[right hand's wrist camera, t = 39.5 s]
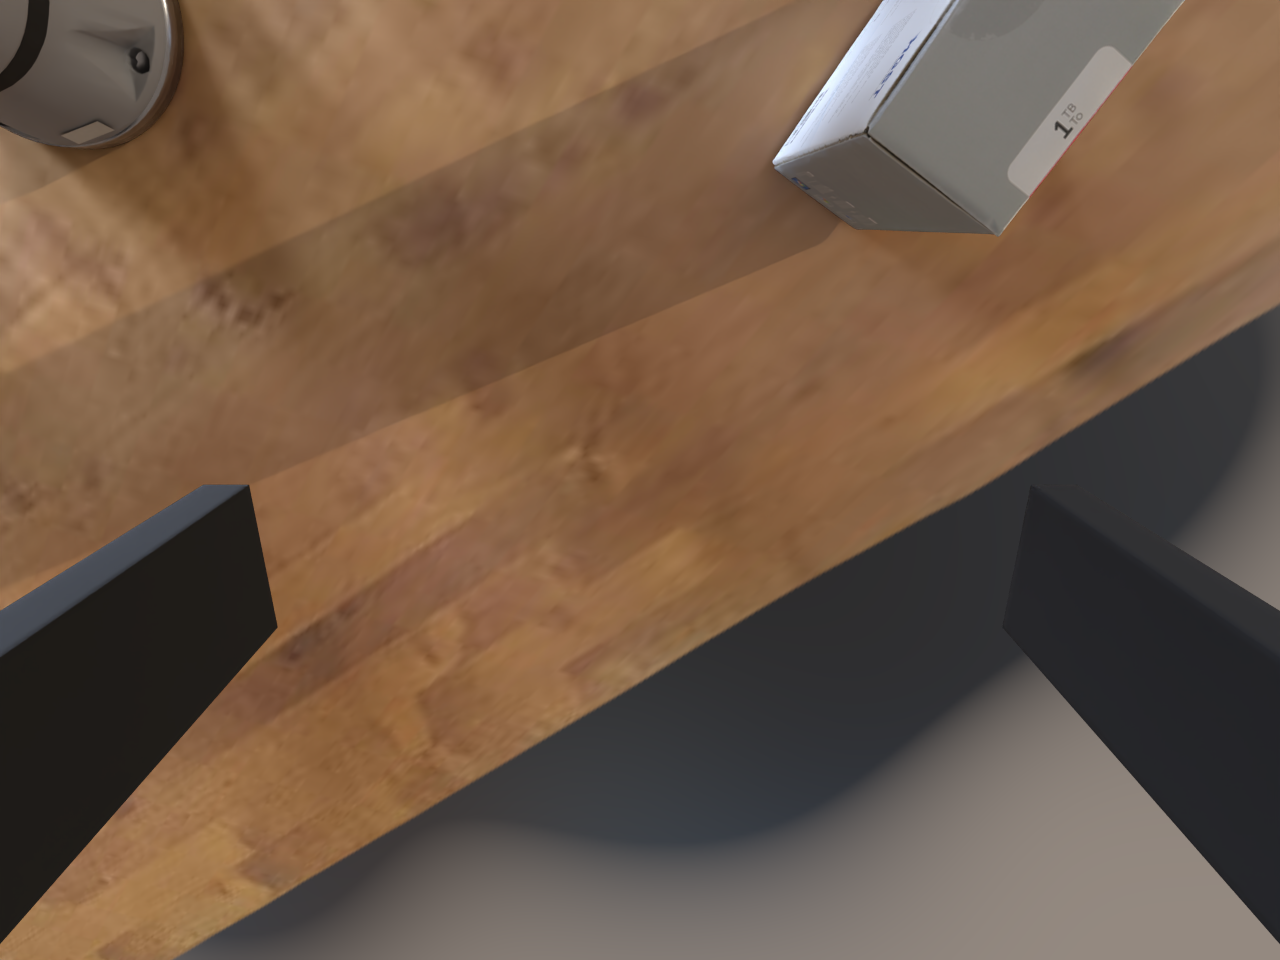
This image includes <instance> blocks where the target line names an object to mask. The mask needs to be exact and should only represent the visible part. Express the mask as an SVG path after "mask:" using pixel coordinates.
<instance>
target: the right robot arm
mask: <svg viewBox="0 0 1280 960" xmlns="http://www.w3.org/2000/svg"><path fill="white" fill-rule="evenodd" d="M183 53H184V35H183V24H182V18H181V11H180V7H179V3H178V0H0V126H1V127H3V128H5V129H7V130H8V131H10V132H12V133H14V134H17V135H19V136H21V137H24V138H26V139H29V140H32V141H35V142H39V143H43V144H47V145H53V146H61V147H69V148H78V149H101V148H108V147H113V146H116V145H120V144H123V143H125V142H128V141H130V140H132V139H134V138H136V137H137V136H139V135H141V134H142V133H144V132H145V131H146V130H147V129H149V128H150V127H151V126H152V125H153V124H154V123H155V122H156V121H157V120H158V119H159V118H160V116H161V115H162V114H163V112H164V111H165V110H166V108H167V106H168V105H169V103H170V101H171V100H172V97H173V95H174V93H175V90H176V88H177V85H178V81H179V78H180V74H181V69H182V63H183ZM276 629H277V622H276V617H275V612H274V607H273V602H272V597H271V592H270V587H269V582H268V577H267V572H266V567H265V562H264V557H263V552H262V547H261V542H260V537H259V532H258V527H257V522H256V517H255V512H254V507H253V502H252V497H251V492H250V487H249V485H202V486H201V487H199V488H197V489H196V490H194V491H193V492H191V493H189V494H188V495H186V496H185V497H183V498H181V499H180V500H178V501H177V502H175V503H173V504H172V505H170V506H168V507H167V508H165V509H164V510H162V511H160V512H159V513H157V514H156V515H154V516H152V517H151V518H149V519H148V520H146V521H144V522H143V523H141V524H139V525H138V526H136V527H135V528H133V529H131V530H130V531H128V532H127V533H125V534H123V535H122V536H120V537H119V538H117V539H115V540H114V541H112V542H110V543H109V544H107V545H106V546H104V547H102V548H101V549H99V550H98V551H96V552H94V553H93V554H91V555H90V556H88V557H86V558H85V559H83V560H81V561H80V562H78V563H77V564H75V565H73V566H72V567H70V568H69V569H67V570H65V571H64V572H62V573H61V574H59V575H57V576H56V577H54V578H52V579H51V580H49V581H48V582H46V583H44V584H43V585H41V586H40V587H38V588H36V589H35V590H33V591H32V592H30V593H28V594H27V595H25V596H24V597H22V598H20V599H19V600H17V601H15V602H14V603H12V604H11V605H9V606H7V607H6V608H4V609H3V610H1V611H0V944H1V942H2V941H3V940H4V939H5V938H6V937H7V936H8V934H9V933H10V932H11V931H12V930H13V929H14V928H15V926H16V925H17V924H18V923H19V922H20V921H21V920H22V918H23V917H24V916H25V915H26V914H27V913H28V912H29V910H30V909H31V908H32V907H33V906H34V905H35V904H36V902H37V901H38V900H39V899H40V898H41V897H42V896H43V894H44V893H45V892H46V891H47V890H48V889H49V888H50V886H51V885H52V884H53V883H54V882H55V881H56V880H57V878H58V877H59V876H60V875H61V874H62V873H63V872H64V870H65V869H66V868H67V867H68V866H69V865H70V864H71V863H72V861H73V860H74V859H75V858H76V857H77V856H78V855H79V853H80V852H81V851H82V850H83V849H84V848H85V847H86V845H87V844H88V843H89V842H90V841H91V840H92V839H93V837H94V836H95V835H96V834H97V833H98V832H99V831H100V829H101V828H102V827H103V826H104V825H105V824H106V823H107V821H108V820H109V819H110V818H111V817H112V816H113V815H114V813H115V812H116V811H117V810H118V809H119V808H120V807H121V805H122V804H123V803H124V802H125V801H126V800H127V799H128V797H129V796H130V795H131V794H132V793H133V792H134V791H135V789H136V788H137V787H138V786H139V785H140V784H141V783H142V781H143V780H144V779H145V778H146V777H147V776H148V775H149V773H150V772H151V771H152V770H153V769H154V768H155V767H156V766H157V764H158V763H159V762H160V761H161V760H162V759H163V758H164V756H165V755H166V754H167V753H168V752H169V751H170V750H171V748H172V747H173V746H174V745H175V744H176V743H177V742H178V740H179V739H180V738H181V737H182V736H183V735H184V734H185V732H186V731H187V730H188V729H189V728H190V727H191V726H192V724H193V723H194V722H195V721H196V720H197V719H198V718H199V716H200V715H201V714H202V713H203V712H204V711H205V710H206V708H207V707H208V706H209V705H210V704H211V703H212V702H213V700H214V699H215V698H216V697H217V696H218V695H219V694H220V692H221V691H222V690H223V689H224V688H225V687H226V686H227V684H228V683H229V682H230V681H231V680H232V679H233V678H234V676H235V675H236V674H237V673H238V672H239V671H240V670H241V668H242V667H243V666H244V665H245V664H246V663H247V662H248V661H249V659H250V658H251V657H252V656H253V655H254V654H255V653H256V651H257V650H258V649H259V648H260V647H261V646H262V645H263V643H264V642H265V641H266V640H267V639H268V638H269V637H270V635H271V634H272V633H273V632H274V631H275V630H276ZM1003 629H1004V630H1005V631H1006V632H1007V633H1008V634H1009V635H1010V637H1011V638H1012V639H1013V640H1014V641H1015V642H1016V643H1017V645H1018V646H1019V647H1020V648H1021V649H1022V650H1023V651H1024V653H1025V654H1026V655H1027V656H1028V657H1029V658H1030V659H1031V660H1032V662H1033V663H1034V664H1035V665H1036V666H1037V667H1038V668H1039V670H1040V671H1041V672H1042V673H1043V674H1044V675H1045V676H1046V678H1047V679H1048V680H1049V681H1050V682H1051V683H1052V684H1053V686H1054V687H1055V688H1056V689H1057V690H1058V691H1059V692H1060V694H1061V695H1062V696H1063V697H1064V698H1065V699H1066V700H1067V702H1068V703H1069V704H1070V705H1071V706H1072V707H1073V708H1074V710H1075V711H1076V712H1077V713H1078V714H1079V715H1080V716H1081V718H1082V719H1083V720H1084V721H1085V722H1086V723H1087V724H1088V726H1089V727H1090V728H1091V729H1092V730H1093V731H1094V732H1095V733H1096V735H1097V736H1098V737H1099V738H1100V739H1101V740H1102V742H1103V743H1104V744H1105V745H1106V746H1107V747H1108V748H1109V750H1110V751H1111V752H1112V753H1113V754H1114V755H1115V756H1116V758H1117V759H1118V760H1119V761H1120V762H1121V763H1122V764H1123V766H1124V767H1125V768H1126V769H1127V770H1128V771H1129V772H1130V773H1131V775H1132V776H1133V777H1134V778H1135V779H1136V780H1137V781H1138V783H1139V784H1140V785H1141V786H1142V787H1143V788H1144V789H1145V791H1146V792H1147V793H1148V794H1149V795H1150V796H1151V797H1152V799H1153V800H1154V801H1155V802H1156V803H1157V804H1158V805H1159V807H1160V808H1161V809H1162V810H1163V811H1164V812H1165V813H1166V815H1167V816H1168V817H1169V818H1170V819H1171V820H1172V821H1173V823H1174V824H1175V825H1176V826H1177V827H1178V828H1179V829H1180V831H1181V832H1182V833H1183V834H1184V835H1185V836H1186V837H1187V839H1188V840H1189V841H1190V842H1191V843H1192V844H1193V845H1194V847H1195V848H1196V849H1197V850H1198V851H1199V852H1200V853H1201V854H1202V856H1203V857H1204V858H1205V859H1206V860H1207V861H1208V863H1209V864H1210V865H1211V866H1212V867H1213V868H1214V869H1215V870H1216V872H1217V873H1218V874H1219V875H1220V876H1221V877H1222V878H1223V880H1224V881H1225V882H1226V883H1227V884H1228V885H1229V886H1230V888H1231V889H1232V890H1233V891H1234V892H1235V893H1236V894H1237V896H1238V897H1239V898H1240V899H1241V900H1242V901H1243V902H1244V904H1245V905H1246V906H1247V907H1248V908H1249V909H1250V910H1251V912H1252V913H1253V914H1254V915H1255V916H1256V917H1257V918H1258V920H1259V921H1260V922H1261V923H1262V924H1263V925H1264V926H1265V928H1266V929H1267V930H1268V931H1269V932H1270V933H1271V934H1272V936H1273V937H1274V938H1275V939H1276V940H1277V941H1278V942H1279V943H1280V611H1279V610H1277V609H1276V608H1274V607H1273V606H1271V605H1269V604H1268V603H1266V602H1265V601H1263V600H1261V599H1260V598H1258V597H1256V596H1255V595H1253V594H1252V593H1250V592H1248V591H1247V590H1245V589H1244V588H1242V587H1240V586H1239V585H1237V584H1236V583H1234V582H1232V581H1231V580H1229V579H1228V578H1226V577H1224V576H1223V575H1221V574H1219V573H1218V572H1216V571H1215V570H1213V569H1211V568H1210V567H1208V566H1207V565H1205V564H1203V563H1202V562H1200V561H1199V560H1197V559H1195V558H1194V557H1192V556H1190V555H1189V554H1187V553H1186V552H1184V551H1182V550H1181V549H1179V548H1178V547H1176V546H1174V545H1173V544H1171V543H1170V542H1168V541H1166V540H1165V539H1163V538H1161V537H1160V536H1158V535H1157V534H1155V533H1153V532H1152V531H1150V530H1149V529H1147V528H1145V527H1144V526H1142V525H1141V524H1139V523H1137V522H1136V521H1134V520H1132V519H1131V518H1129V517H1128V516H1126V515H1124V514H1123V513H1121V512H1120V511H1118V510H1116V509H1115V508H1113V507H1111V506H1110V505H1108V504H1107V503H1105V502H1103V501H1102V500H1100V499H1099V498H1097V497H1095V496H1094V495H1092V494H1091V493H1089V492H1087V491H1086V490H1084V489H1083V488H1081V487H1079V486H1078V485H1031V487H1030V492H1029V497H1028V502H1027V507H1026V512H1025V517H1024V523H1023V527H1022V532H1021V537H1020V542H1019V547H1018V552H1017V557H1016V562H1015V567H1014V572H1013V577H1012V582H1011V587H1010V592H1009V597H1008V602H1007V607H1006V612H1005V617H1004V622H1003Z"/></svg>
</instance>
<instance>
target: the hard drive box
mask: <svg viewBox="0 0 1280 960" xmlns="http://www.w3.org/2000/svg"><path fill="white" fill-rule="evenodd" d="M1184 1H1185V0H883V1H882V3H881V4H880V6H879V7H878V9H877V10H876V12H875V14H874V15H873V17H872V18H871V19H870V21H869V22H868V24H867V25H866V27H865V28H864V29H863V31H862V32H861V34H860V35H859V36H858V38H857V39H856V41H855V42H854V44H853V45H852V46H851V48H850V49H849V51H848V52H847V54H846V55H845V57H844V58H843V60H842V61H841V63H840V64H839V65H838V67H837V68H836V70H835V71H834V73H833V74H832V76H831V77H830V79H829V80H828V81H827V83H826V84H825V86H824V87H823V89H822V90H821V92H820V93H819V94H818V96H817V97H816V99H815V100H814V102H813V103H812V104H811V106H810V107H809V109H808V110H807V112H806V113H805V115H804V116H803V118H802V119H801V121H800V122H799V123H798V125H797V126H796V128H795V130H794V131H793V133H792V134H791V135H790V137H789V138H788V140H787V141H786V143H785V144H784V145H783V147H782V148H781V150H780V151H779V153H778V154H777V156H776V157H775V159H774V160H773V164H774V165H775V170H777V171H778V172H779V173H781V174H782V175H783V176H784V177H786V178H787V179H788V180H790V181H791V182H792V183H794V184H795V185H796V186H798V187H799V188H800V189H802V190H803V191H804V192H806V193H807V194H808V195H810V196H811V197H812V198H814V199H815V200H816V201H818V202H819V203H821V204H822V205H823V206H824V207H826V208H827V209H828V210H830V211H831V212H832V213H834V214H835V215H837V216H838V217H839V218H841V219H842V220H843V221H845V222H846V223H847V224H849V225H850V226H852V227H853V228H855V229H866V230H893V231H918V232H949V233H978V234H995V235H996V236H1000V235H1001V233H1002V232H1003V231H1004V229H1005V228H1006V227H1007V225H1008V224H1009V223H1010V222H1011V220H1012V219H1013V218H1014V216H1015V215H1016V214H1017V213H1018V211H1019V210H1020V209H1021V207H1022V206H1023V205H1024V204H1025V202H1026V201H1027V200H1028V199H1029V198H1030V197H1031V195H1032V194H1033V193H1034V192H1035V190H1036V189H1037V188H1038V187H1039V185H1040V184H1041V183H1042V182H1043V180H1044V179H1045V178H1046V176H1047V175H1048V174H1049V173H1050V171H1051V170H1052V169H1053V168H1054V166H1055V165H1056V164H1057V162H1058V161H1059V160H1060V158H1061V157H1062V156H1063V155H1064V153H1065V152H1066V151H1067V150H1068V148H1069V147H1070V146H1071V145H1072V144H1073V142H1074V141H1075V140H1076V138H1077V137H1078V136H1079V135H1080V133H1081V132H1082V131H1083V129H1084V128H1085V127H1086V125H1087V124H1088V123H1089V122H1090V120H1091V119H1092V118H1093V116H1094V115H1095V114H1096V113H1097V111H1098V110H1099V109H1100V107H1101V106H1102V105H1103V104H1104V102H1105V101H1106V100H1107V99H1108V97H1109V96H1110V95H1111V93H1112V92H1113V91H1114V90H1115V88H1116V87H1117V86H1118V85H1119V83H1120V82H1121V81H1122V79H1123V78H1124V77H1125V76H1126V74H1127V73H1128V72H1129V70H1130V69H1131V67H1132V66H1133V65H1134V63H1135V62H1136V60H1137V59H1138V58H1139V57H1140V55H1141V54H1142V53H1143V52H1144V50H1145V49H1146V48H1147V47H1148V45H1149V44H1150V43H1151V41H1152V40H1153V39H1154V38H1155V36H1156V35H1157V34H1158V33H1159V31H1160V30H1161V29H1162V28H1163V26H1164V25H1165V24H1166V23H1167V22H1168V20H1169V19H1170V18H1171V17H1172V15H1173V14H1174V13H1175V12H1176V10H1177V9H1178V8H1179V7H1180V6H1181V4H1182V3H1183V2H1184Z"/></svg>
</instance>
